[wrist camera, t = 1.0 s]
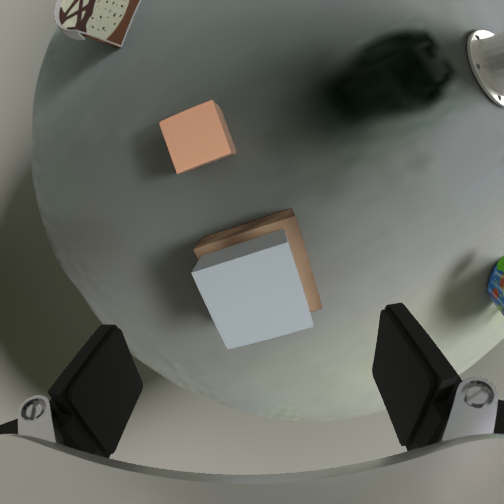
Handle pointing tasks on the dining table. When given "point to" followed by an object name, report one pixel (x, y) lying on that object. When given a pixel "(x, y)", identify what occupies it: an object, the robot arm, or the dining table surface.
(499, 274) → the snack cup
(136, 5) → the food container
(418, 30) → the dining table surface
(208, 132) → the terracotta cube
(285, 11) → the dining table surface
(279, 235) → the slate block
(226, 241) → the walnut slab
